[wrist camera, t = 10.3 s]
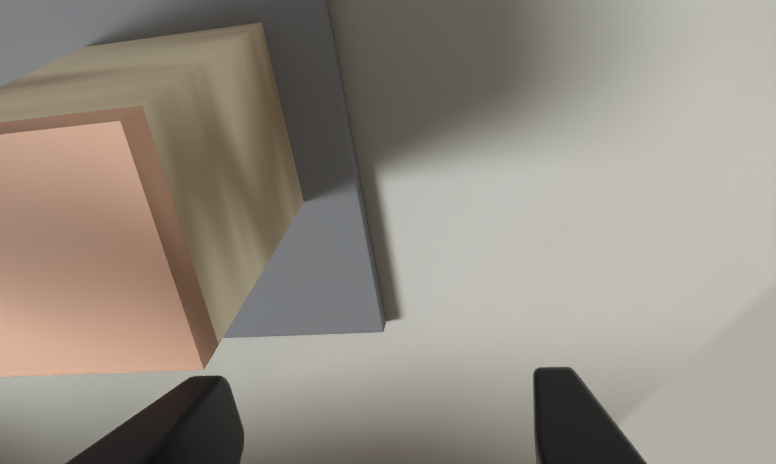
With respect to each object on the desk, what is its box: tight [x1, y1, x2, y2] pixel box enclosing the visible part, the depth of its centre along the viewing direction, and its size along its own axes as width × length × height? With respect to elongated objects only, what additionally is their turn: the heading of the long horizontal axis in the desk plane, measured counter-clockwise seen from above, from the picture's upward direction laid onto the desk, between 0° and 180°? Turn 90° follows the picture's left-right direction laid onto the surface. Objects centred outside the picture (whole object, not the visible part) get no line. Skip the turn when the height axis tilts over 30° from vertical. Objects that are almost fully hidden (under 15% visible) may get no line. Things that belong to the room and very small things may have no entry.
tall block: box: [0, 22, 304, 377], centre depth 17 cm, size 5×5×8 cm
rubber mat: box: [0, 0, 386, 338], centre depth 21 cm, size 16×18×1 cm
